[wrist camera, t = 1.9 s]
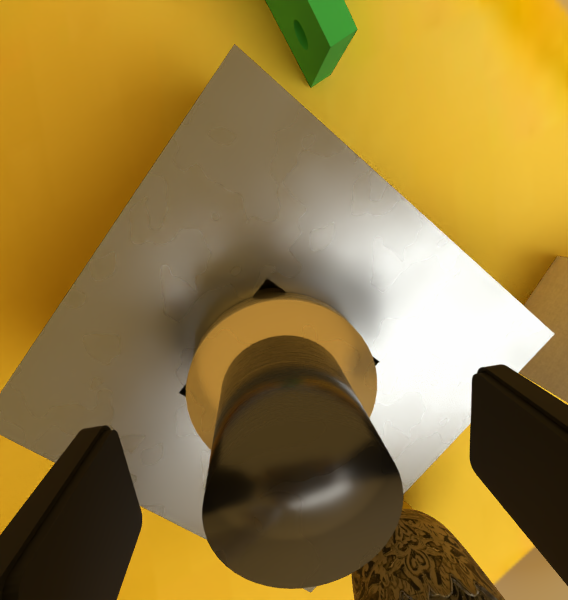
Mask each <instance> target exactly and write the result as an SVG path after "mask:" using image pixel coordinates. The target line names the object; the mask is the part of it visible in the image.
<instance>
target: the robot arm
mask: <svg viewBox="0 0 568 600" xmlns="http://www.w3.org/2000/svg"><path fill="white" fill-rule="evenodd" d="M470 463H471V466H472V468H473V470H474V472H475V473H476V475H477V476H478V477H479V478H480V479H481V481H482V482H483V483H484V484H485V486H486V487H487V488H488V489H489V490H490V492H491V493H492V494H493V495H494V497H495V498H496V499H497V500H498V501H499V503H500V504H501V505H502V506H503V508H504V509H505V510H506V511H507V512H508V514H509V515H510V516H511V517H512V518H513V520H514V521H515V522H516V523H517V525H518V526H519V527H520V528H521V529H522V531H523V532H524V533H525V534H526V536H527V537H528V538H529V539H530V540H531V542H532V543H533V544H534V545H535V547H536V548H537V549H538V550H539V551H540V553H541V554H542V555H543V556H544V557H545V559H546V560H547V561H548V562H549V564H550V565H551V566H552V567H553V569H554V570H555V571H556V572H557V573H558V575H559V576H560V577H561V578H562V579H563V581H564V582H565V583H566V584H567V586H568V405H567V404H565V403H563V402H562V401H560V400H559V399H557V398H556V397H554V396H553V395H551V394H549V393H548V392H546V391H545V390H543V389H542V388H540V387H539V386H537V385H536V384H534V383H532V382H531V381H529V380H528V379H526V378H525V377H523V376H522V375H520V374H518V373H517V372H515V371H514V370H512V369H511V368H509V367H508V366H506V365H504V364H499V365H493V366H486V367H481V368H479V369H478V371H477V374H474V375H473V377H472V393H471V427H470ZM141 526H142V513H141V509H140V505H139V502H138V499H137V495H136V492H135V488H134V485H133V482H132V478H131V475H130V472H129V468H128V465H127V461H126V458H125V455H124V451H123V448H122V444H121V441H120V438H119V435H118V432H117V431H116V430H111V428H110V427H109V426H107V425H103V426H97V427H90V428H84V429H82V430H80V431H79V433H78V434H77V435H76V437H75V438H74V439H73V440H72V442H71V443H70V444H69V446H68V447H67V448H66V450H65V451H64V452H63V454H62V455H61V456H60V458H59V459H58V460H57V461H56V463H55V464H54V465H53V467H52V468H51V469H50V471H49V472H48V473H47V475H46V476H45V477H44V479H43V480H42V481H41V482H40V484H39V485H38V486H37V488H36V489H35V490H34V492H33V493H32V494H31V496H30V497H29V498H28V500H27V501H26V502H25V503H24V505H23V506H22V507H21V509H20V510H19V511H18V513H17V514H16V515H15V517H14V518H13V519H12V521H11V522H10V523H9V524H8V526H7V527H6V528H5V530H4V531H3V532H2V534H1V535H0V600H117V597H118V594H119V591H120V588H121V585H122V582H123V580H124V577H125V574H126V571H127V568H128V565H129V562H130V559H131V556H132V553H133V551H134V548H135V545H136V542H137V539H138V536H139V533H140V530H141Z"/></svg>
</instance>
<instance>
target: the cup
mask: <svg viewBox="0 0 568 600" xmlns="http://www.w3.org/2000/svg"><path fill="white" fill-rule="evenodd" d="M352 584H353V592H354V600H505V599H504V598H503V596H502V595H501V594H500V593H499V591H498V590H497V589H496V587H495V586H494V585H493V583H492V582H491V581H490V580H489V578H488V577H487V576H486V574H485V573H484V572H483V571H482V569H481V568H480V567H479V566H478V564H477V563H476V562H475V560H474V559H473V558H472V557H471V555H470V554H469V553H468V552H467V550H466V549H465V548H464V547H463V546H462V544H461V543H460V542H459V541H458V540H457V539H456V538H455V537H454V535H453V534H452V533H451V532H450V531H449V530H448V529H447V528H446V527H445V526H444V525H442V524H441V523H440V522H439V521H437V520H436V519H434V518H433V517H431V516H429V515H427V514H425V513H423V512H420V511H416V510H413V509H412V507H411V506H410V505H409V504H407V503H406V502H405V501H403V507H402V512H401V516H400V519H399V522H398V525H397V527H396V529H395V531H394V533H393V535H392V536H391V538H390V539H389V541H388V542H387V544H386V545H385V546H384V547H383V548H382V550H381V551H380V552H379V553H378V554H377V555H376V556H375V557H374V558H373V559H372V560H370V561H369V562H368V563H367V564H365V565H364V566H362V567H361V568H360V569H358V570H356V571H355V572H353V573H352Z"/></svg>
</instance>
